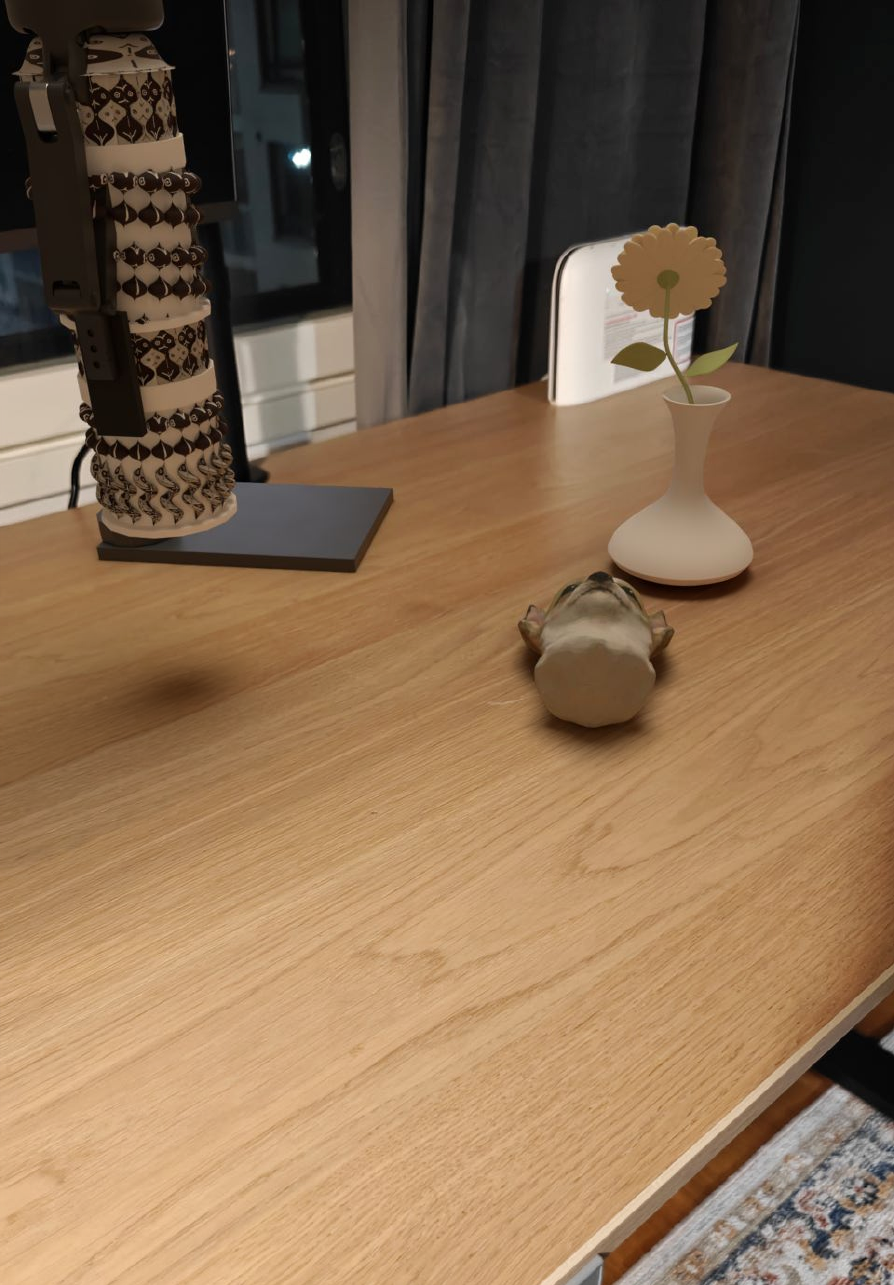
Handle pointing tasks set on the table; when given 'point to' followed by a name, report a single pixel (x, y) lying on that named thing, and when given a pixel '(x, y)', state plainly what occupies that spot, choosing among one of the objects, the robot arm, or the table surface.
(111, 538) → the dark grey base plate
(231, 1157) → the table surface
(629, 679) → the ceramic sculpture
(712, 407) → the flower in vase
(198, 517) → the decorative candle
